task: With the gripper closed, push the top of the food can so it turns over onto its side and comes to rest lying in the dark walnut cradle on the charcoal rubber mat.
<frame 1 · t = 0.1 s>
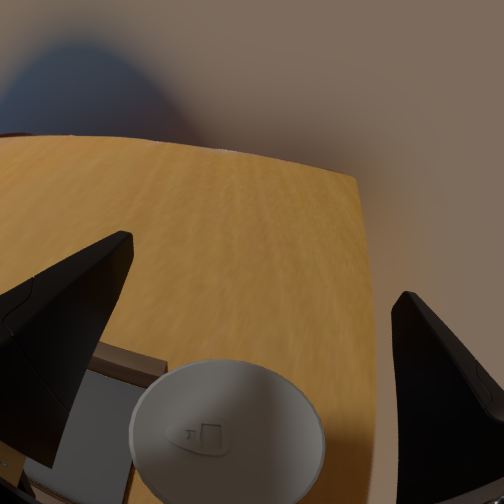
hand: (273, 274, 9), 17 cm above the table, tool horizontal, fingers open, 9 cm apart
cradle: (52, 421, 16), on the table
canned food: (209, 473, 16), on the table
mat: (52, 421, 16), resting in cradle
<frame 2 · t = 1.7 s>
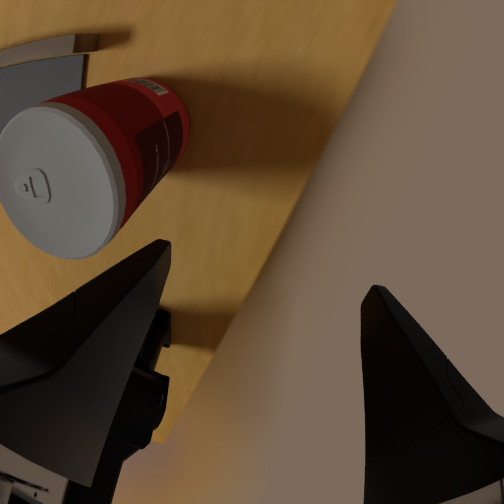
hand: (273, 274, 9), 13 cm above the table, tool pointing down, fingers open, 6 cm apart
cradle: (25, 121, 18), on the table
canned food: (142, 125, 19), on the table
mat: (25, 121, 18), resting in cradle
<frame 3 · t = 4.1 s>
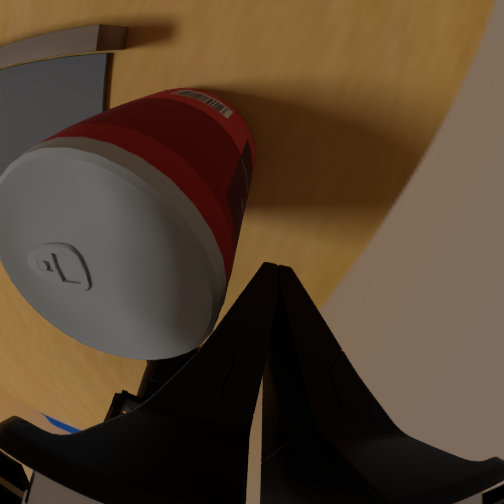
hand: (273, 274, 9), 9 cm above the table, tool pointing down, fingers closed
cradle: (29, 136, 15), on the table
canned food: (187, 149, 16), on the table, touching gripper
mat: (29, 136, 15), resting in cradle
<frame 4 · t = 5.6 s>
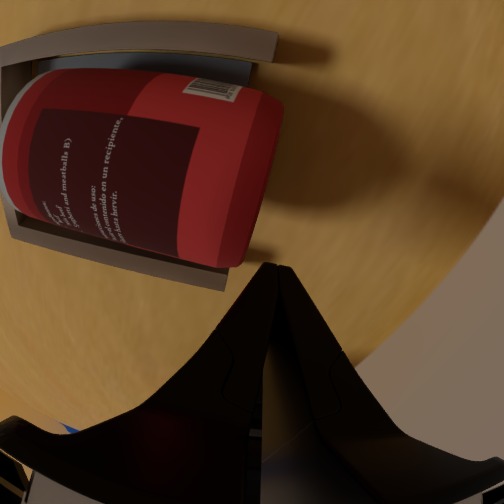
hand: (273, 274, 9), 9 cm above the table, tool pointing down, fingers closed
cradle: (121, 142, 16), on the table
canned food: (265, 185, 12), point 4 cm above the table, touching mat
mat: (121, 142, 16), resting in cradle
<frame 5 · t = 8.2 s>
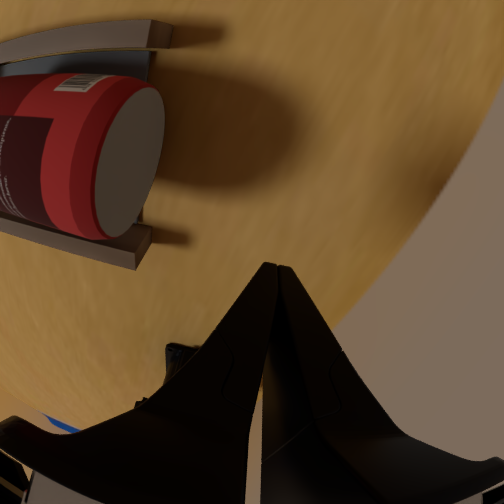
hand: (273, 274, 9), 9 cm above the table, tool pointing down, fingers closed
cradle: (53, 134, 15), on the table
canned food: (139, 163, 12), point 4 cm above the table, touching mat
mat: (53, 134, 15), resting in cradle
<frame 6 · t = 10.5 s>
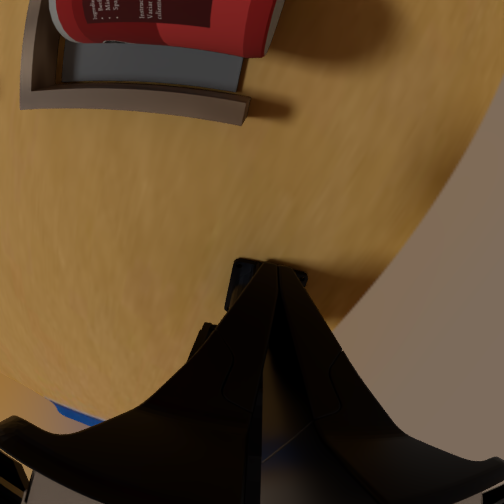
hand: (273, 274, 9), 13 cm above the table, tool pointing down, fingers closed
cradle: (150, 8, 13), on the table
mat: (150, 8, 13), resting in cradle
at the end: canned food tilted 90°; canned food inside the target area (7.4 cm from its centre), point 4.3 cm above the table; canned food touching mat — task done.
